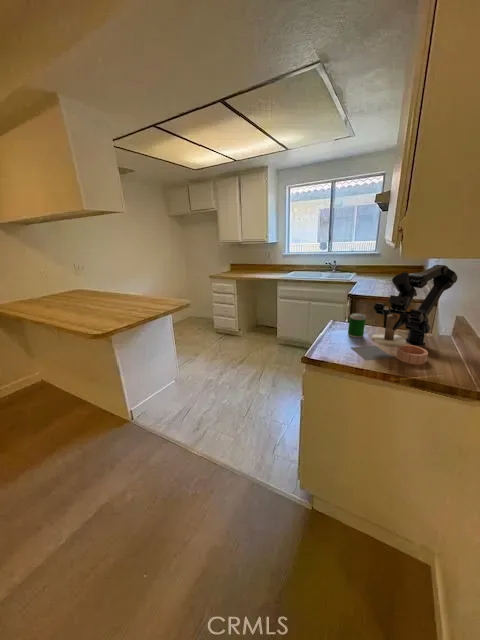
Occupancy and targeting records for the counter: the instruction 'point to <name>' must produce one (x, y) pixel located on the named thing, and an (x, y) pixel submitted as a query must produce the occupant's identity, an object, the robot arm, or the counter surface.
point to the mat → (371, 352)
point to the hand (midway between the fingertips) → (388, 328)
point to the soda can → (356, 325)
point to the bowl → (411, 354)
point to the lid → (389, 334)
